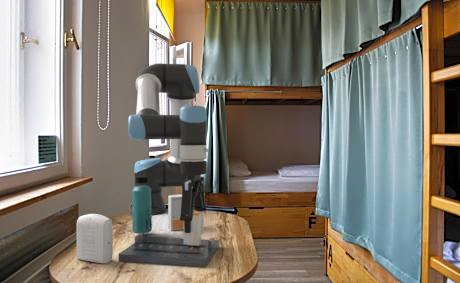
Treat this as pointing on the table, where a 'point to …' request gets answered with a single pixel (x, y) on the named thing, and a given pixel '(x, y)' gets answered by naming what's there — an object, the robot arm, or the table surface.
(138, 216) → the beverage bottle
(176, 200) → the skincare box
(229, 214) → the table surface
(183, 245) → the console
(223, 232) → the table surface
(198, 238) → the fader
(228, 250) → the table surface
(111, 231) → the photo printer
